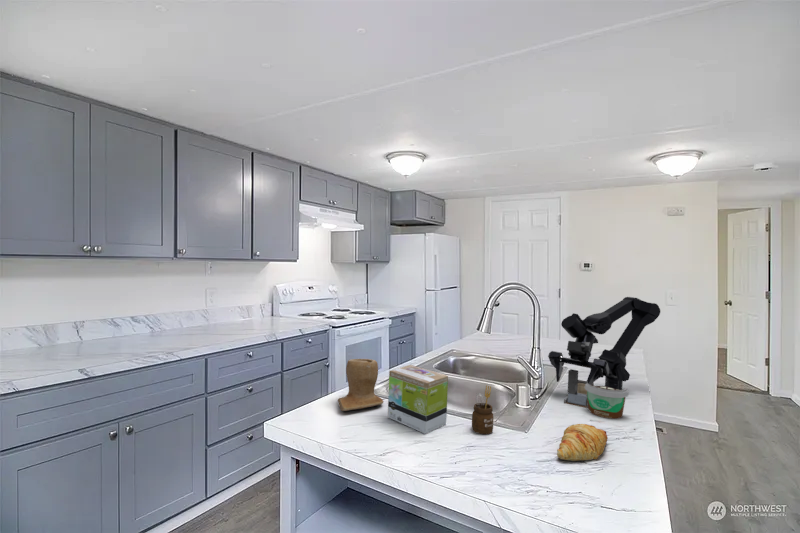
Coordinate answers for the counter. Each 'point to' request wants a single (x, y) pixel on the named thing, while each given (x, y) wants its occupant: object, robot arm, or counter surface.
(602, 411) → the food container
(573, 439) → the croissant
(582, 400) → the block
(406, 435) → the counter surface
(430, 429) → the tea box
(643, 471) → the counter surface
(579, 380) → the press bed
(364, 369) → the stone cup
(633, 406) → the counter surface
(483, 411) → the utensil holder
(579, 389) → the nut
